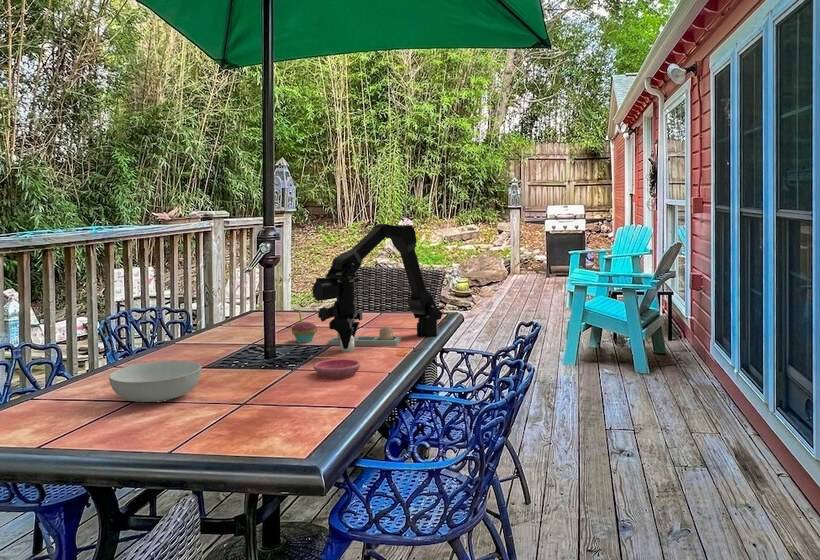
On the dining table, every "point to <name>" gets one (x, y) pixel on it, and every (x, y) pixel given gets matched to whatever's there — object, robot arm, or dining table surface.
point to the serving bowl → (155, 380)
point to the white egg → (350, 347)
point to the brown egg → (386, 333)
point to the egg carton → (369, 341)
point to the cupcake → (304, 331)
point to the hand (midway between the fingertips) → (347, 347)
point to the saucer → (337, 368)
